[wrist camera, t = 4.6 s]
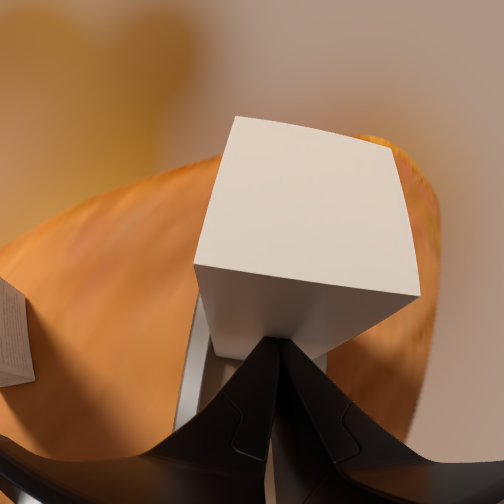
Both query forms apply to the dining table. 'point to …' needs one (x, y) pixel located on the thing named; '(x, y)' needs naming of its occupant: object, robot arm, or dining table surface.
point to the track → (213, 381)
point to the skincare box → (14, 338)
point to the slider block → (302, 240)
